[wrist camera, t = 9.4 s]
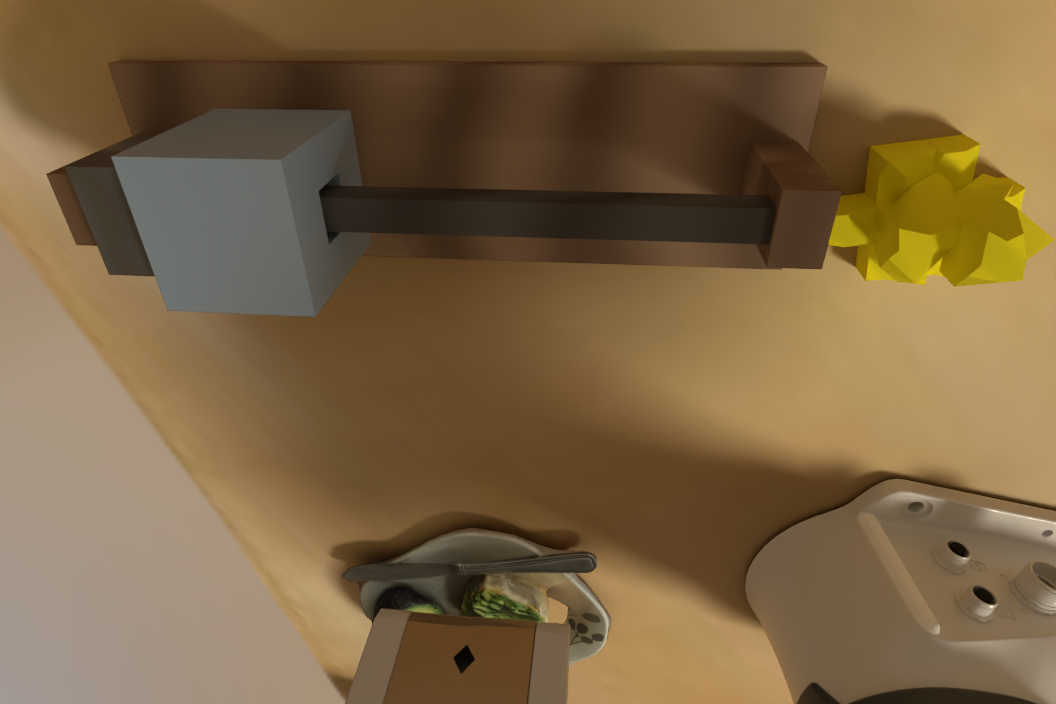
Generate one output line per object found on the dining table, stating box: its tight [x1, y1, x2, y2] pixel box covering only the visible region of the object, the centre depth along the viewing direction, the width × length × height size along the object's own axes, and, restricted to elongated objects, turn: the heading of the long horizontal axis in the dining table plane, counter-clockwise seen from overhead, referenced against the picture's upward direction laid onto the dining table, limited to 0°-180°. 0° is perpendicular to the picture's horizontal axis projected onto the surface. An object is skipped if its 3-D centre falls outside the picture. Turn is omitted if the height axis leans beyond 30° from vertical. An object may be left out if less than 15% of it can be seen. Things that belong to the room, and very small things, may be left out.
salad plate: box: [342, 528, 611, 665], centre depth 46 cm, size 19×18×5 cm
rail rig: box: [46, 61, 842, 276], centre depth 27 cm, size 31×9×8 cm, turn 91°
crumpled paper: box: [828, 134, 1054, 286], centre depth 26 cm, size 6×8×8 cm
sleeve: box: [111, 109, 371, 317], centre depth 26 cm, size 6×6×7 cm
